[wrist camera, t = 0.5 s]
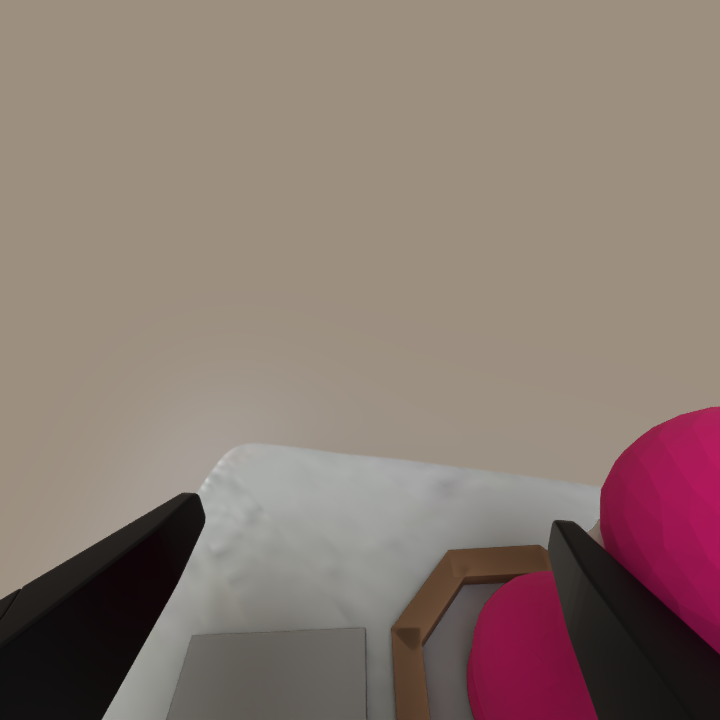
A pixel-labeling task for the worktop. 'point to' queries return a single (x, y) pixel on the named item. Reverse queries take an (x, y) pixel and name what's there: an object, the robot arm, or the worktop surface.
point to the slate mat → (274, 676)
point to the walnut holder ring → (434, 604)
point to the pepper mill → (632, 550)
